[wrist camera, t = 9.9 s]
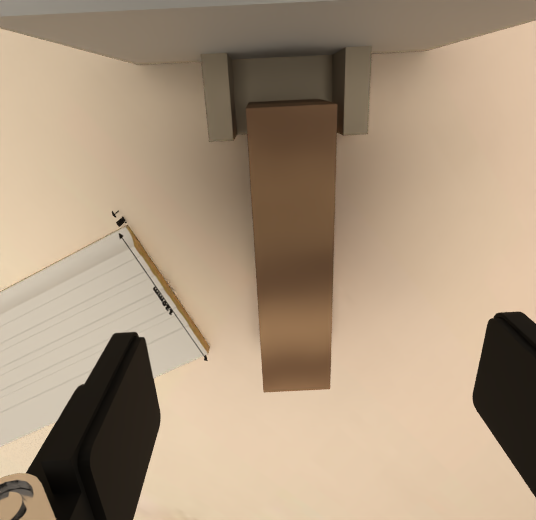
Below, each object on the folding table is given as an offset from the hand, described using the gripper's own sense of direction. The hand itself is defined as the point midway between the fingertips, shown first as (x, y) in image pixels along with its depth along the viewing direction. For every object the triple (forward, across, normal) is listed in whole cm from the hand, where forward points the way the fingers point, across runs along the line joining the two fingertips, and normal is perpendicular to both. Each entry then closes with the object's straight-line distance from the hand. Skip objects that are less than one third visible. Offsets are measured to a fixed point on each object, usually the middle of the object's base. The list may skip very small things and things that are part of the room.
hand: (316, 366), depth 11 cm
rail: (+15, 0, +2) cm, 15 cm away
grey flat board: (+16, +22, +11) cm, 30 cm away
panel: (+16, 0, -6) cm, 17 cm away
